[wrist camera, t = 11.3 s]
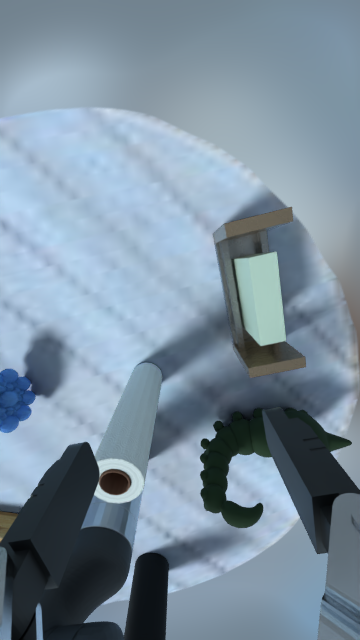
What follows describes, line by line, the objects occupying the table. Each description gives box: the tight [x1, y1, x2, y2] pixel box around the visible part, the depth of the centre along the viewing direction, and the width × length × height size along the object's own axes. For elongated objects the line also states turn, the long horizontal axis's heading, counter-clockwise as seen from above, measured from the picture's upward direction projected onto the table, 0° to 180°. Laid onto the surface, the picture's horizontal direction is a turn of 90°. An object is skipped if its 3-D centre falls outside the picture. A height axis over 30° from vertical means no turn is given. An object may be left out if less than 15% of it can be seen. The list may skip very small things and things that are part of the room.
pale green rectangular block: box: [232, 252, 286, 346], centre depth 32 cm, size 12×4×9 cm, turn 13°
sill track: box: [213, 207, 306, 378], centre depth 33 cm, size 21×8×10 cm, turn 13°
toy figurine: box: [200, 408, 352, 528], centre depth 36 cm, size 9×19×25 cm
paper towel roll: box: [94, 362, 162, 503], centre depth 32 cm, size 7×6×21 cm
